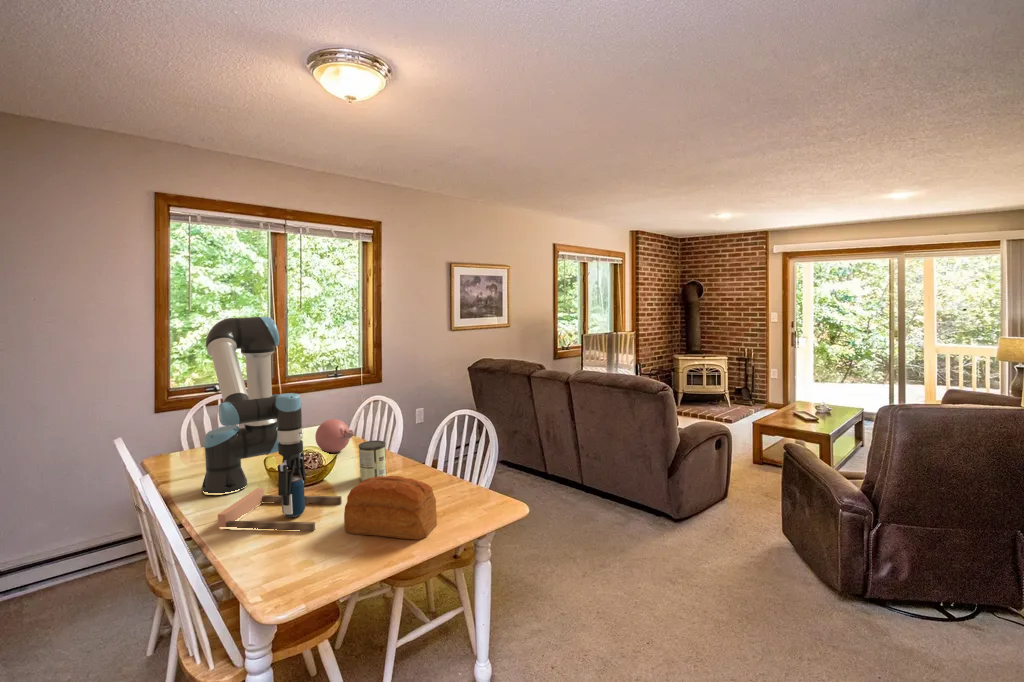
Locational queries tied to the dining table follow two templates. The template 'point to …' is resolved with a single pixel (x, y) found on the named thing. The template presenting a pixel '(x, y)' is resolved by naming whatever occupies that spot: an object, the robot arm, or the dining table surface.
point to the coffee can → (372, 459)
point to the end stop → (241, 507)
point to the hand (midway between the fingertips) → (293, 508)
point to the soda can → (296, 496)
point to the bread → (391, 508)
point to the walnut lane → (286, 525)
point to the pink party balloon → (333, 435)
